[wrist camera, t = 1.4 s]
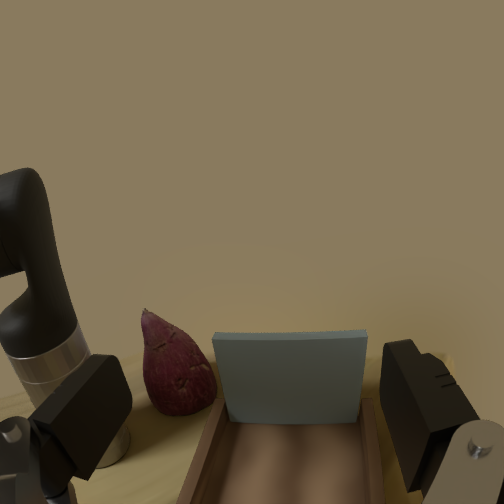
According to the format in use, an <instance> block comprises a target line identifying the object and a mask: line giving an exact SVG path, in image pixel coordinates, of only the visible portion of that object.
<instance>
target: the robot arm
mask: <svg viewBox="0 0 504 504" xmlns="http://www.w3.org/2000/svg"><path fill="white" fill-rule="evenodd" d="M21 271H25V272H26V276H27V281H28V288H27V289H26V291H25V292H24V293H23V294H22V295H21V296H20V297H19V298H18V299H16V300H15V301H14V302H13V303H11V304H10V305H9V306H8V307H7V308H5V309H4V311H3V312H2V313H1V314H0V343H1V345H2V347H3V349H4V351H5V353H6V355H7V357H8V359H9V361H10V362H11V365H12V367H13V369H14V370H15V372H16V374H17V376H18V377H19V380H20V381H21V383H22V385H23V386H24V388H25V390H26V392H27V393H28V395H29V397H30V400H31V402H32V403H33V405H34V406H35V408H36V410H35V411H34V412H33V413H32V415H31V416H30V417H29V418H28V419H26V418H24V417H20V416H15V417H10V418H7V419H5V420H3V421H2V422H0V504H77V499H76V494H75V489H74V486H73V484H72V483H71V481H70V480H71V478H72V477H73V476H75V477H78V478H80V479H84V480H87V481H88V480H89V478H90V477H91V475H92V473H93V472H94V470H95V468H102V467H106V466H108V465H111V464H113V463H115V462H116V461H118V460H119V459H120V458H121V457H122V456H123V455H124V454H125V452H126V451H127V449H128V446H129V443H130V434H129V432H128V429H127V427H126V425H125V424H124V421H125V419H126V418H127V416H128V414H129V413H130V411H131V408H132V394H131V391H130V389H129V386H128V384H127V381H126V378H125V376H124V373H123V371H122V368H121V365H120V362H119V360H118V359H117V357H115V356H114V355H101V354H93V355H91V353H90V350H89V348H88V346H87V343H86V341H85V339H84V336H83V333H82V331H81V328H80V326H79V323H78V320H77V317H76V314H75V311H74V309H73V306H72V303H71V299H70V296H69V292H68V289H67V286H66V282H65V279H64V276H63V272H62V269H61V265H60V260H59V256H58V252H57V247H56V242H55V236H54V231H53V225H52V219H51V214H50V208H49V202H48V198H47V194H46V190H45V187H44V184H43V182H42V179H41V178H40V176H39V174H38V173H37V172H36V171H35V170H34V169H31V168H22V169H18V170H15V171H12V172H8V173H5V174H2V175H0V278H1V277H4V276H7V275H11V274H14V273H18V272H21ZM380 402H381V406H382V409H383V413H384V416H385V419H386V422H387V425H388V428H389V431H390V434H391V438H392V441H393V444H394V447H395V451H396V454H397V458H398V461H399V464H400V468H401V471H402V475H403V479H404V482H405V486H406V489H407V493H409V492H413V491H417V490H421V491H422V495H423V498H424V499H423V501H422V503H421V504H504V428H503V427H502V426H501V425H499V424H497V423H495V422H492V421H489V420H480V418H479V417H478V415H477V413H476V412H475V410H474V409H473V407H472V405H471V404H470V402H469V401H468V399H467V398H466V396H465V394H464V393H463V391H462V390H461V388H460V387H459V385H457V384H456V381H455V379H454V378H453V376H452V375H450V372H449V370H448V369H447V368H446V366H445V365H444V363H443V362H442V361H441V360H439V359H438V358H436V357H435V356H433V355H432V354H430V353H426V354H421V353H420V352H419V351H418V349H417V347H416V346H415V344H414V343H413V341H412V340H411V339H407V340H401V341H395V342H389V343H385V345H384V347H383V357H382V368H381V378H380Z"/></svg>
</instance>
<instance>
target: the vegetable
mask: <svg viewBox="0 0 504 504" xmlns="http://www.w3.org/2000/svg"><path fill="white" fill-rule="evenodd" d="M141 326H142V332H143V337H144V346H145V347H144V358H143V377H144V382H145V386H146V389H147V393H148V395H149V398H150V400H151V402H152V404H153V405H154V406H155V407H156V408H157V409H158V410H159V411H160V412H161V413H163V414H165V415H172V416H178V415H179V416H180V415H189V414H193V413H196V412H198V411H200V410H202V409H204V408H206V407H207V406H209V405H210V404H212V403H213V402H214V400H215V398H216V393H217V385H216V380H215V377H214V374H213V371H212V369H211V366H210V364H209V362H208V361H207V359H206V358H205V356H204V354H203V353H202V352H201V350H200V349H199V347H198V345H197V344H196V343H195V342H194V341H193V339H192V338H191V337H190V336H189V335H188V334H187V333H185V332H184V331H183V330H181V329H179V328H178V327H176V326H174V325H172V324H170V323H168V322H167V321H165V320H163V319H162V318H160V317H159V316H157V315H155V314H154V313H152V312H148V310H146V308H144V309H143V314H142V317H141Z"/></svg>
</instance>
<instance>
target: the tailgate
mask: <svg viewBox="0 0 504 504" xmlns="http://www.w3.org/2000/svg"><path fill="white" fill-rule="evenodd" d="M367 339H368V336H367V332H366V330H350V331H327V332H298V333H296V332H295V333H220V332H215V334H214V336H213V338H212V343H213V347H214V352H215V357H216V362H217V366H218V371H219V375H220V380H221V384H222V388H223V393H224V397H225V401H226V405H227V410H228V414H229V418H230V422H241V423H259V424H338V423H355V422H356V420H357V414H358V408H359V402H360V395H361V389H362V382H363V374H364V366H365V358H366V349H367Z"/></svg>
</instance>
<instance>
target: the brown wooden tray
mask: <svg viewBox="0 0 504 504" xmlns="http://www.w3.org/2000/svg"><path fill="white" fill-rule="evenodd" d="M176 504H385V494H384V484H383V474H382V465H381V456H380V449H379V441H378V434H377V427H376V420H375V414H374V407H373V401H372V398H364V399H361V404H360V410H359V416H357V420H356V422H355V423H338V424H259V423H241V422H230V418H229V414H228V410H227V405H226V401H225V399H222V398H215V401H214V404H213V406H212V409H211V412H210V415H209V417H208V420H207V423H206V425H205V428H204V431H203V433H202V436H201V439H200V441H199V444H198V447H197V449H196V452H195V455H194V457H193V460H192V463H191V465H190V468H189V471H188V473H187V476H186V479H185V481H184V484H183V486H182V489H181V492H180V494H179V497H178V500H177V502H176Z"/></svg>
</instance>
